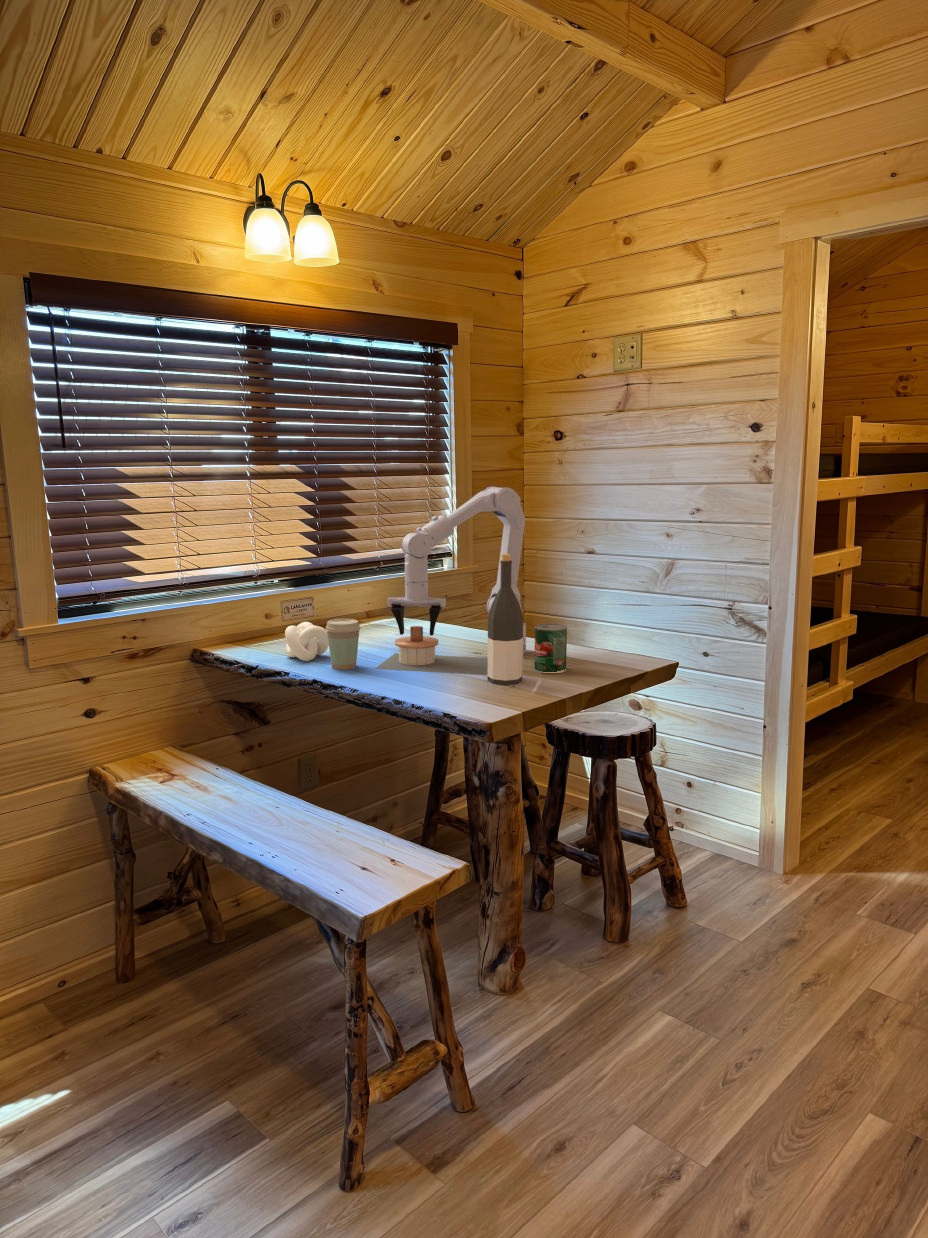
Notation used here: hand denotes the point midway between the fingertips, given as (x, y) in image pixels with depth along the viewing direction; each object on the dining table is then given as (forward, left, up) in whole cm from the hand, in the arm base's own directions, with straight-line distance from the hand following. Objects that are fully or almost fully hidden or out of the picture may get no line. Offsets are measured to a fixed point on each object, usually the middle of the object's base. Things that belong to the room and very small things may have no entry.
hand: (416, 634), depth 213 cm
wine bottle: (-25, +14, -8) cm, 30 cm away
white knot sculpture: (+30, +2, -8) cm, 31 cm away
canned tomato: (-34, 0, -8) cm, 35 cm away
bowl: (0, 0, -7) cm, 7 cm away
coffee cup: (+16, +10, -8) cm, 20 cm away
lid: (0, 0, -2) cm, 2 cm away
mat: (-6, +2, -7) cm, 10 cm away
